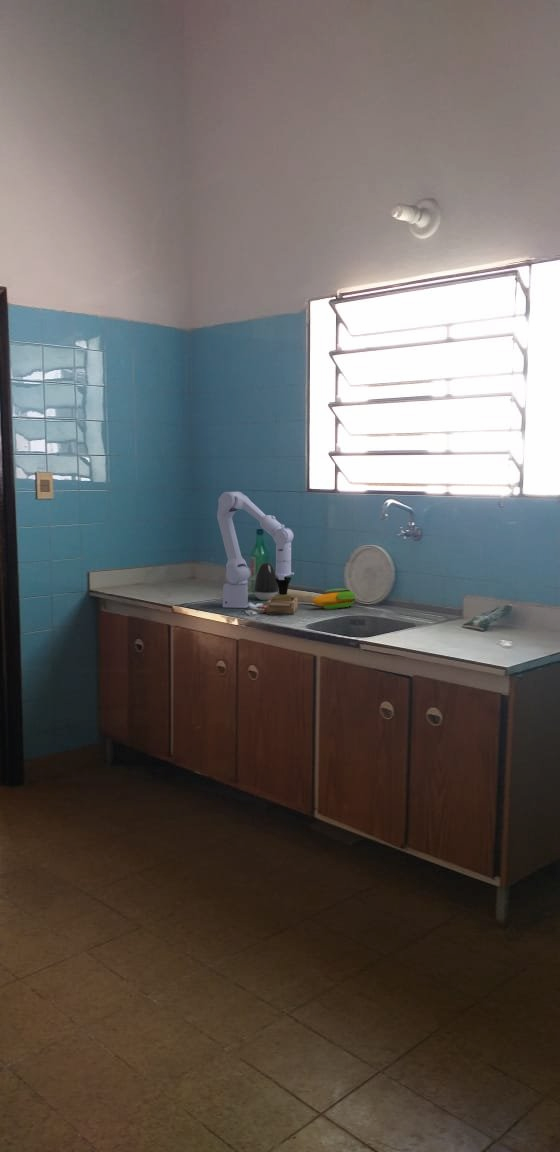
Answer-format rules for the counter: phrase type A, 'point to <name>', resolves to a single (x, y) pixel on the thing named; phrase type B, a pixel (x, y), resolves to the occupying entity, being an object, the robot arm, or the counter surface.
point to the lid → (281, 601)
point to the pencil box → (282, 610)
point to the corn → (335, 599)
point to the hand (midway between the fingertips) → (283, 596)
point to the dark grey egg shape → (265, 582)
